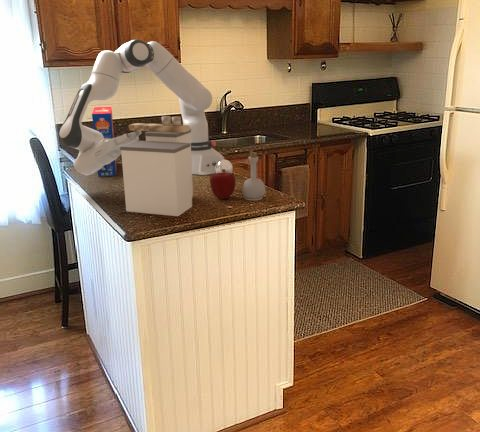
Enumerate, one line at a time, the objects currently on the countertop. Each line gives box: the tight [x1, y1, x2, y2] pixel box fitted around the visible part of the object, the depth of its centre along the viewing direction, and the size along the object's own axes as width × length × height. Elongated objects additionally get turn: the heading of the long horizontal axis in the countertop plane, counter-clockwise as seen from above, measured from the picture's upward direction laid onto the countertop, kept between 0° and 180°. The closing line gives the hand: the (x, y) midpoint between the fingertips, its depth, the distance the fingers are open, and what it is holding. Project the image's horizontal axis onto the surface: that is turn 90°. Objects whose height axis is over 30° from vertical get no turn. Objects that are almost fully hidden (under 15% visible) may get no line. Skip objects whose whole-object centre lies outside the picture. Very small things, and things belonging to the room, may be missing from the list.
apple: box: [209, 172, 236, 200], centre depth 197 cm, size 10×10×10 cm
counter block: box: [120, 129, 194, 217], centre depth 188 cm, size 20×24×26 cm
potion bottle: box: [241, 150, 267, 202], centre depth 195 cm, size 9×9×18 cm
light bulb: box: [215, 159, 234, 174], centre depth 210 cm, size 7×7×12 cm
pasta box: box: [91, 106, 117, 177], centre depth 245 cm, size 28×8×28 cm, turn 13°
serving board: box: [128, 115, 190, 132], centre depth 190 cm, size 22×6×5 cm, turn 71°
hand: (133, 133), depth 195 cm, fingers open, 8 cm apart
